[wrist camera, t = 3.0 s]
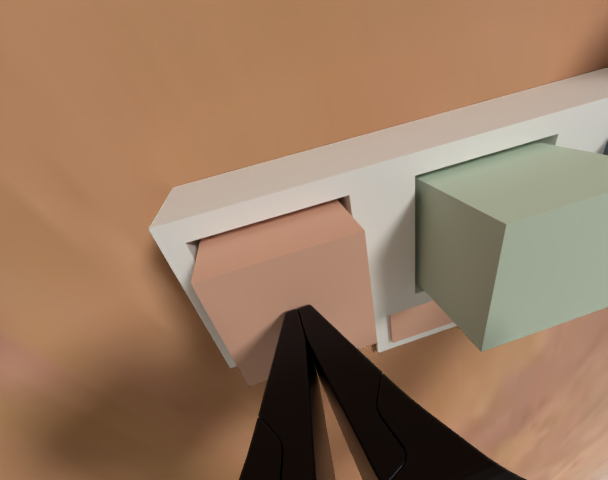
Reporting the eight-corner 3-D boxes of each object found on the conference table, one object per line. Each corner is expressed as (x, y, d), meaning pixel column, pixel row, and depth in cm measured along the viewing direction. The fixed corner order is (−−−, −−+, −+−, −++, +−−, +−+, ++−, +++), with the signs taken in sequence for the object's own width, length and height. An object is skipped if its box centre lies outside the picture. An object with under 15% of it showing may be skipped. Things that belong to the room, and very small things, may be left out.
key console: (639, 58, 14) (774, 49, 10) (591, 192, 17) (678, 219, 14) (172, 187, 12) (148, 229, 8) (231, 306, 16) (230, 368, 12)
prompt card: (471, 254, 18) (479, 260, 17) (462, 318, 21) (469, 325, 20) (368, 287, 17) (373, 294, 17) (375, 348, 20) (380, 356, 20)
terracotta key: (318, 179, 12) (364, 230, 8) (335, 268, 15) (377, 342, 10) (206, 211, 12) (190, 283, 7) (244, 296, 14) (248, 386, 10)
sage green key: (513, 137, 11) (680, 169, 7) (495, 238, 14) (610, 306, 10) (401, 170, 11) (506, 224, 7) (403, 268, 14) (480, 351, 9)
